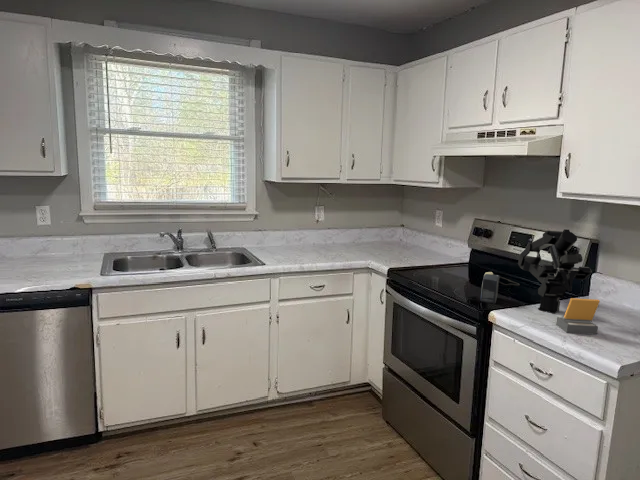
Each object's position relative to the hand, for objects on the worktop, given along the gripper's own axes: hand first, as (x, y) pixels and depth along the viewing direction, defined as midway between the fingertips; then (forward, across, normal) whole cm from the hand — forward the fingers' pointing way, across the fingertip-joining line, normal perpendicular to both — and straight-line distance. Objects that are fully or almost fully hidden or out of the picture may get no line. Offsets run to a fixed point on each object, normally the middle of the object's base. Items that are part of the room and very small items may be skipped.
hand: (569, 290), depth 177 cm
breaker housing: (+14, 0, +3) cm, 15 cm away
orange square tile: (+12, 0, 0) cm, 12 cm away
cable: (-33, -3, +52) cm, 62 cm away
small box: (-9, -21, +27) cm, 35 cm away
